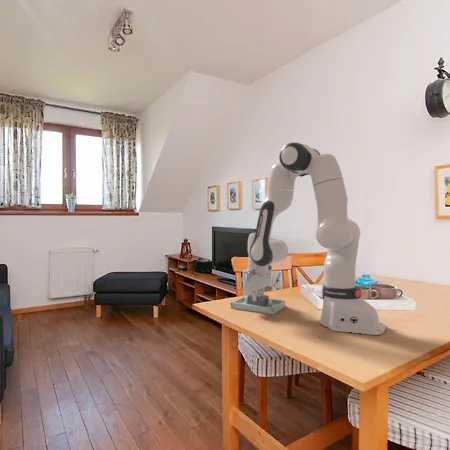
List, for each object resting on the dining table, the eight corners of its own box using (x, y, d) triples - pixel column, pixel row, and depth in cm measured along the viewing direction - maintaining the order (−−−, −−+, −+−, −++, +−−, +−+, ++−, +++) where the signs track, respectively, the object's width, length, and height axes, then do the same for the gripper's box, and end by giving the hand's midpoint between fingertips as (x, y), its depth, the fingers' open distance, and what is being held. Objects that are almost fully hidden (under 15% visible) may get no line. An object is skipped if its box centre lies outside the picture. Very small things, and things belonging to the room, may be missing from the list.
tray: (285, 306, 146) (285, 297, 146) (273, 314, 134) (273, 304, 134) (245, 300, 157) (245, 292, 157) (230, 308, 145) (230, 299, 145)
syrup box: (252, 301, 156) (252, 271, 155) (242, 299, 159) (242, 269, 159) (259, 298, 160) (258, 269, 160) (248, 297, 164) (248, 268, 163)
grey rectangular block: (268, 304, 146) (268, 294, 146) (264, 307, 141) (264, 297, 141) (251, 302, 149) (251, 293, 149) (247, 305, 145) (247, 295, 145)
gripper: (254, 272, 135) (254, 305, 135) (273, 265, 152) (273, 295, 152) (240, 271, 138) (240, 303, 138) (260, 264, 155) (261, 293, 156)
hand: (258, 299), depth 145 cm, fingers closed on grey rectangular block, 5 cm apart
